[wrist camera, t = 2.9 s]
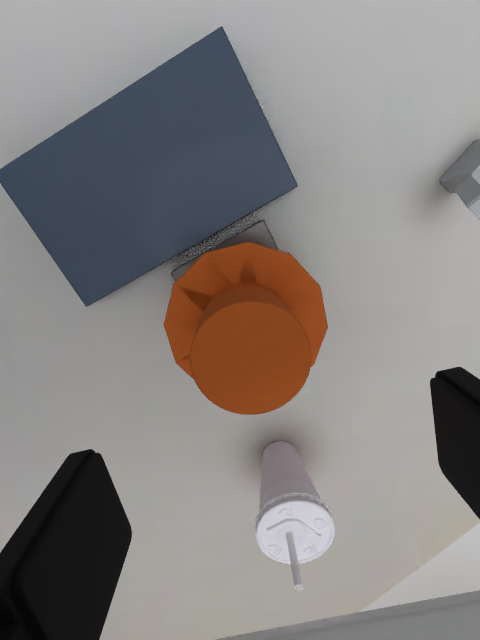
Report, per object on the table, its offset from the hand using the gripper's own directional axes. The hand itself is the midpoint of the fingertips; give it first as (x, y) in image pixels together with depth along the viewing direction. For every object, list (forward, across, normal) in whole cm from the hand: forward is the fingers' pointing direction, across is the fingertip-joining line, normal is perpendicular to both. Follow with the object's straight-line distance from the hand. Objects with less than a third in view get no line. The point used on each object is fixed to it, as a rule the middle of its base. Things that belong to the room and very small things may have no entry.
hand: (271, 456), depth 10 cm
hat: (+13, 0, 0) cm, 13 cm away
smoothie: (+24, +1, +18) cm, 30 cm away
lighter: (+24, -19, -5) cm, 31 cm away
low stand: (+24, +5, -11) cm, 27 cm away
